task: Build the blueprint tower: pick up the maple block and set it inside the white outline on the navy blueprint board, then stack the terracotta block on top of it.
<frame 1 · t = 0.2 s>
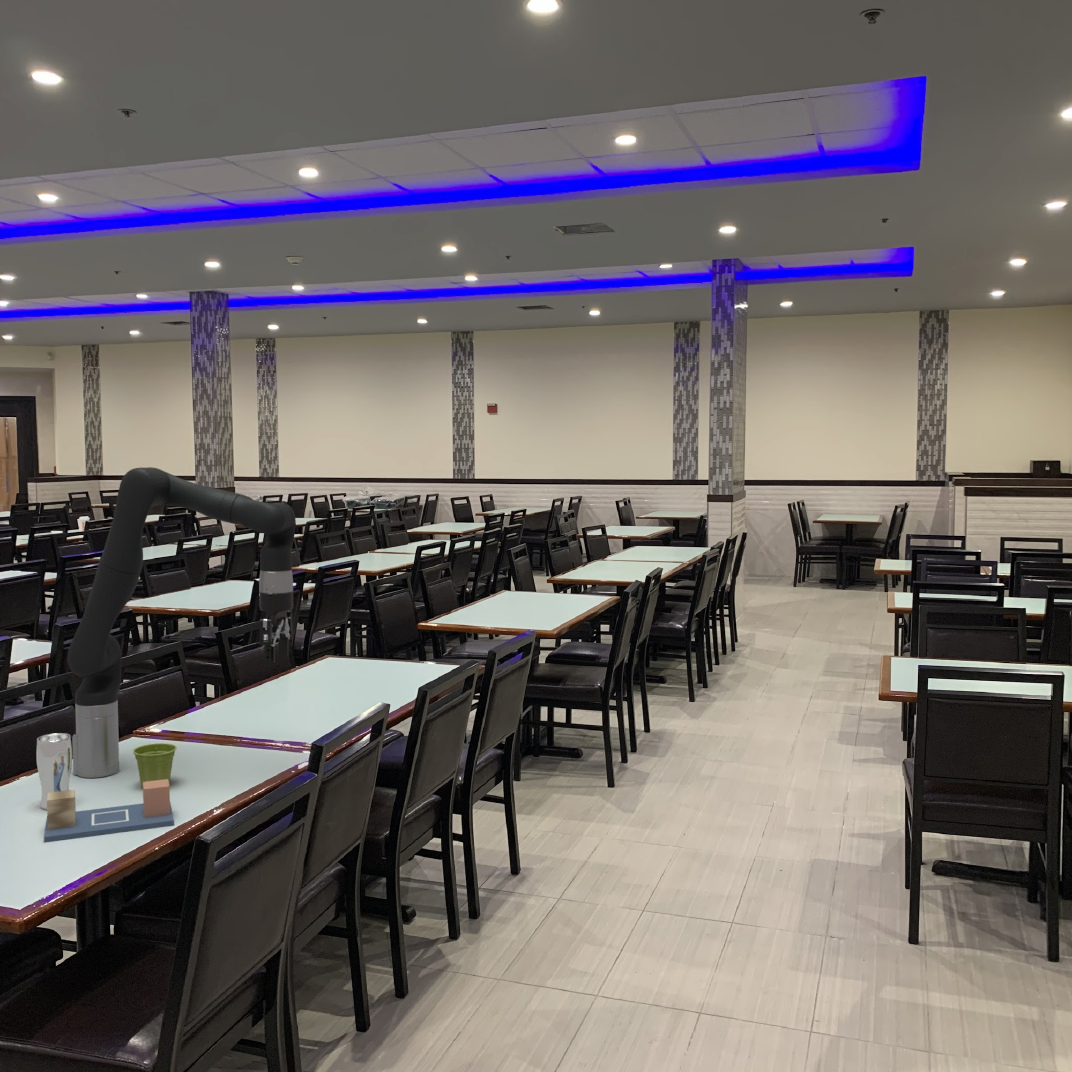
hand: (276, 658, 230), 29 cm above the table, fingers open, 8 cm apart
blueprint board: (110, 822, 206), on the table
beer glass: (55, 805, 215), on the table
plant pot: (155, 786, 229), on the table
terracotta block: (156, 811, 209), point 1 cm above the table, touching blueprint board
maple block: (62, 823, 202), point 1 cm above the table, touching blueprint board
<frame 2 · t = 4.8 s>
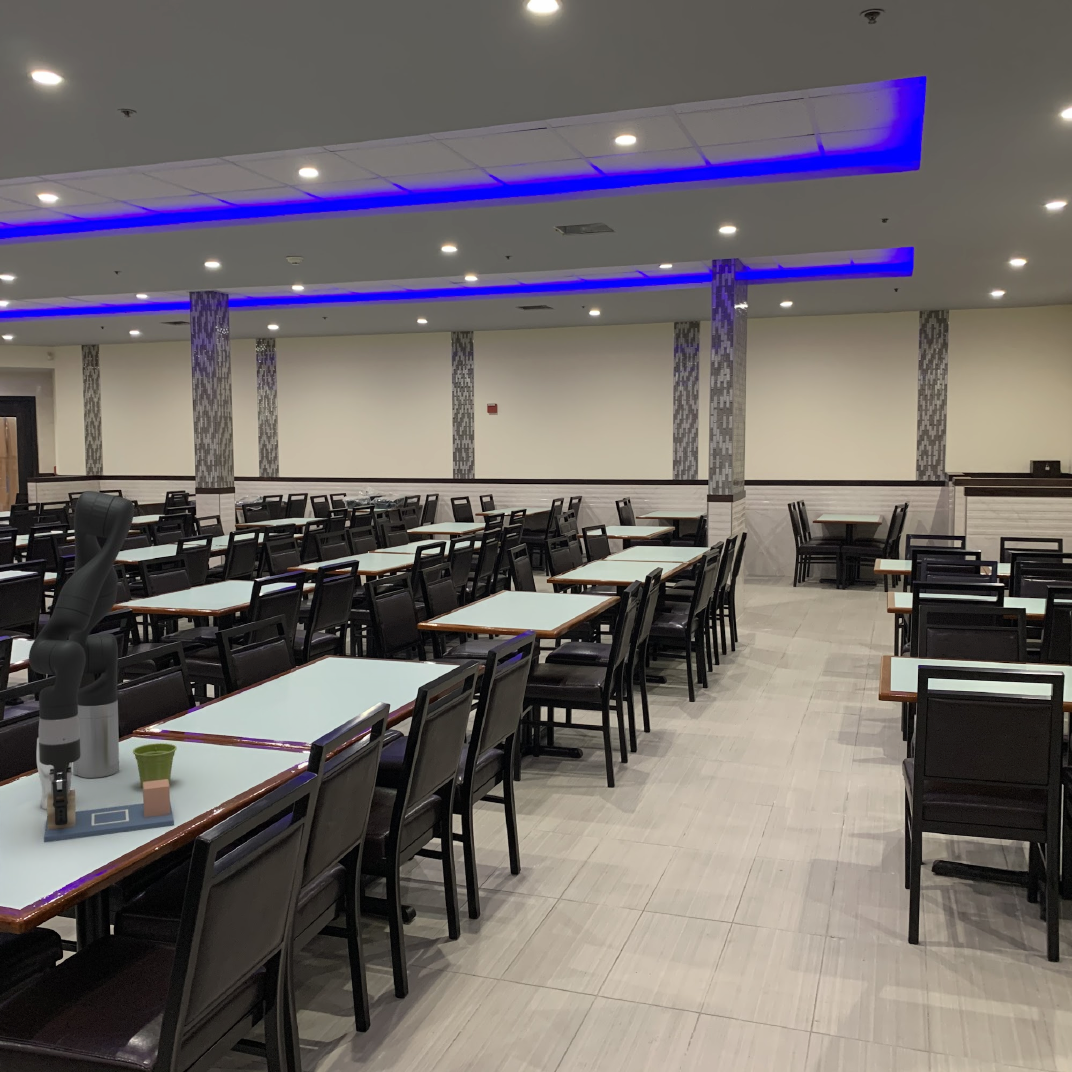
hand: (62, 819, 202), 2 cm above the table, fingers closed on maple block, 5 cm apart
maple block: (62, 823, 202), point 1 cm above the table, touching blueprint board, gripper
everything else where it was.
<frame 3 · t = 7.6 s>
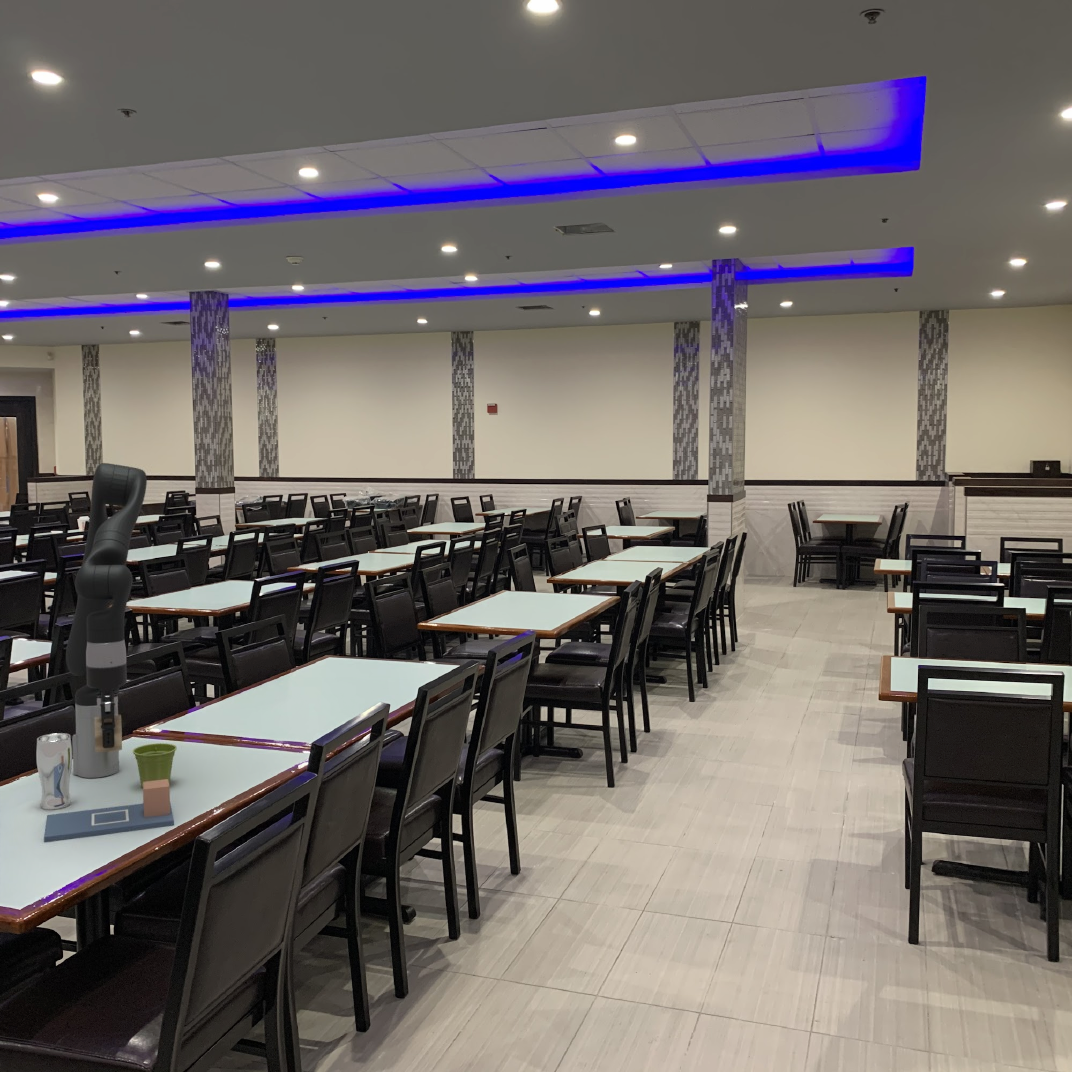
hand: (108, 743, 204), 17 cm above the table, fingers closed on maple block, 5 cm apart
maple block: (108, 747, 204), point 16 cm above the table, touching gripper
everything else where it was.
when the fingers open (3 cm above the table, at t = 10.4 s): maple block drops 1 cm, resting on blueprint board.
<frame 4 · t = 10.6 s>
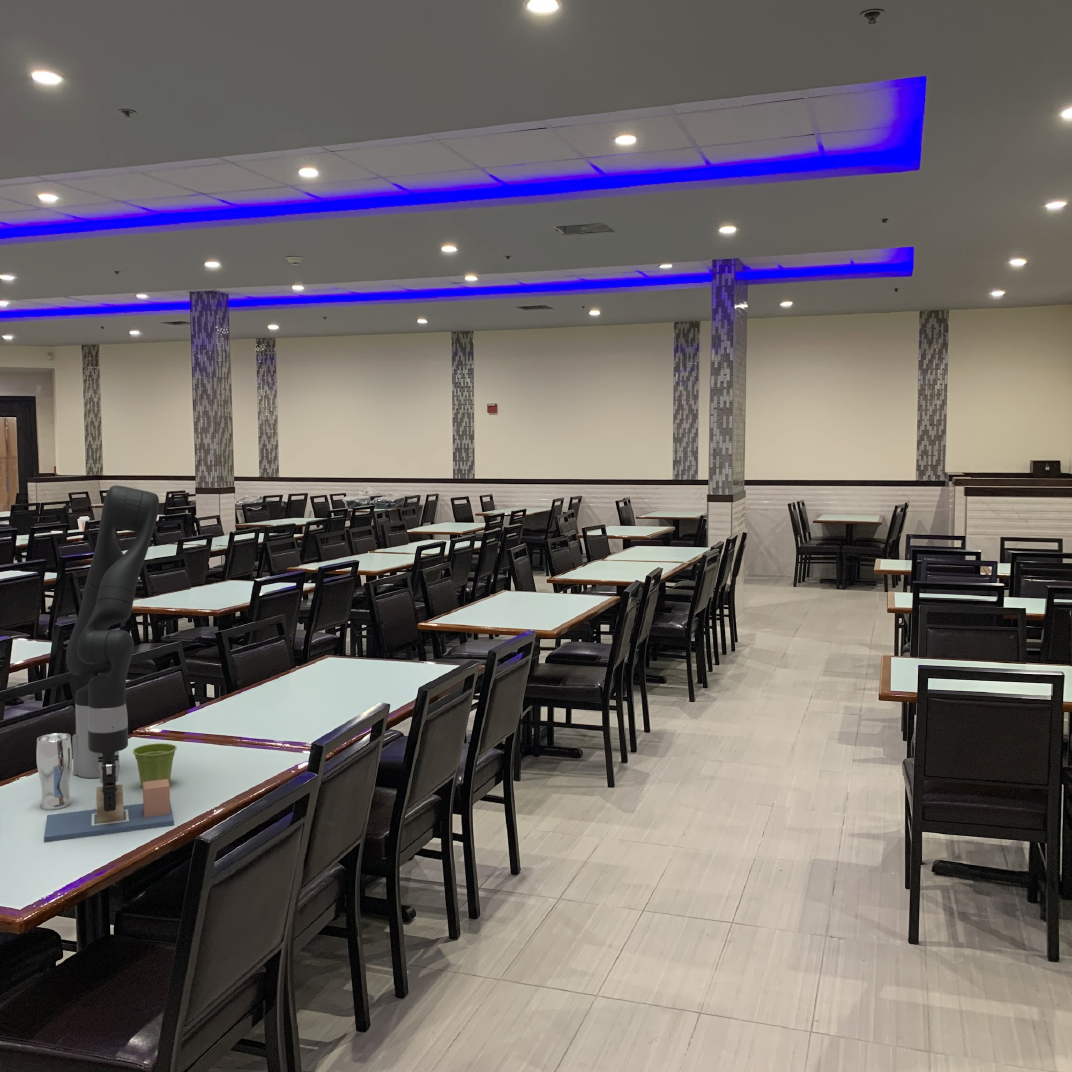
hand: (109, 804, 205), 4 cm above the table, fingers open, 7 cm apart
maple block: (110, 817, 205), point 1 cm above the table, touching blueprint board
everything else where it was.
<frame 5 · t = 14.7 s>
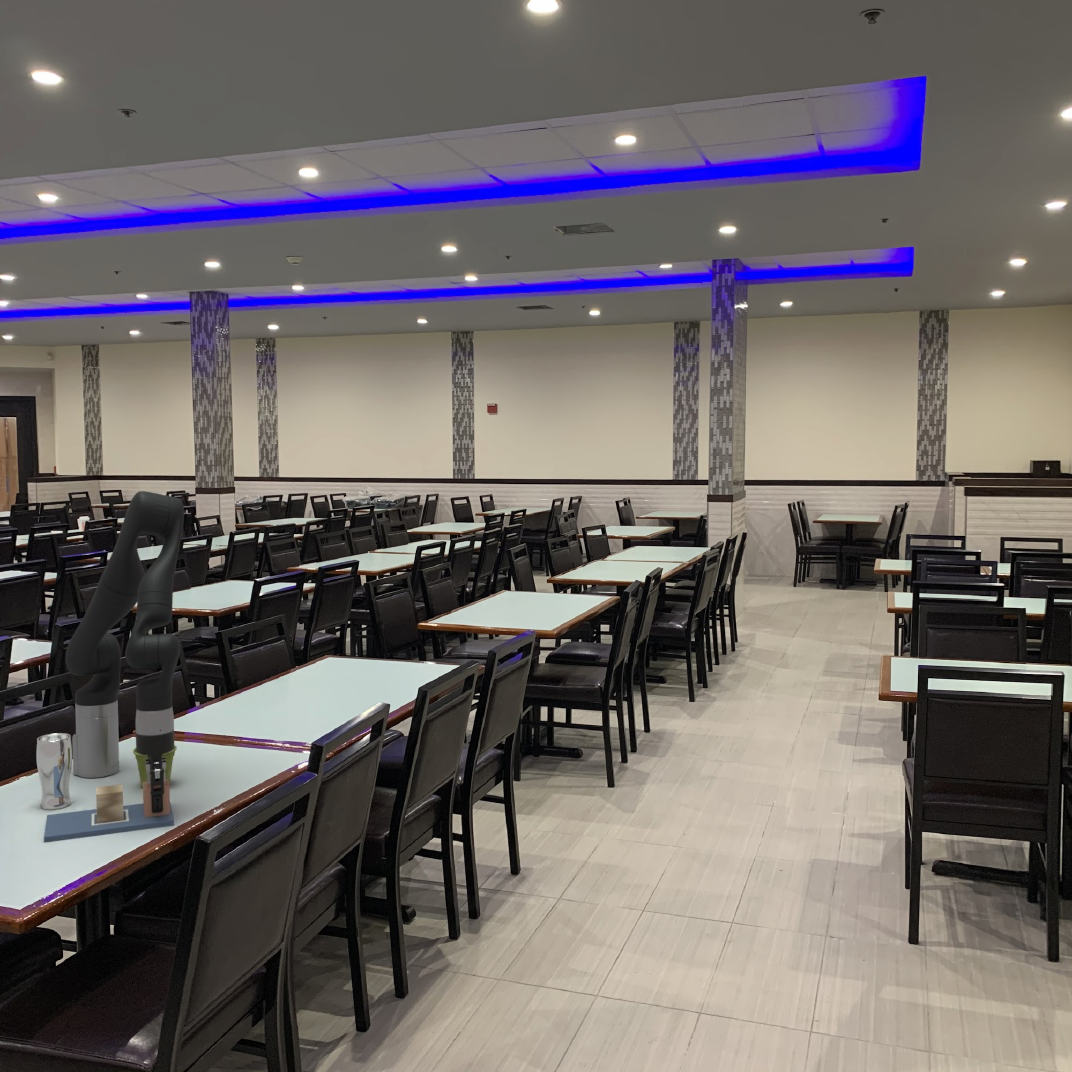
hand: (156, 807, 209), 2 cm above the table, fingers closed on terracotta block, 5 cm apart
terracotta block: (156, 811, 209), point 1 cm above the table, touching blueprint board, gripper
everything else where it was.
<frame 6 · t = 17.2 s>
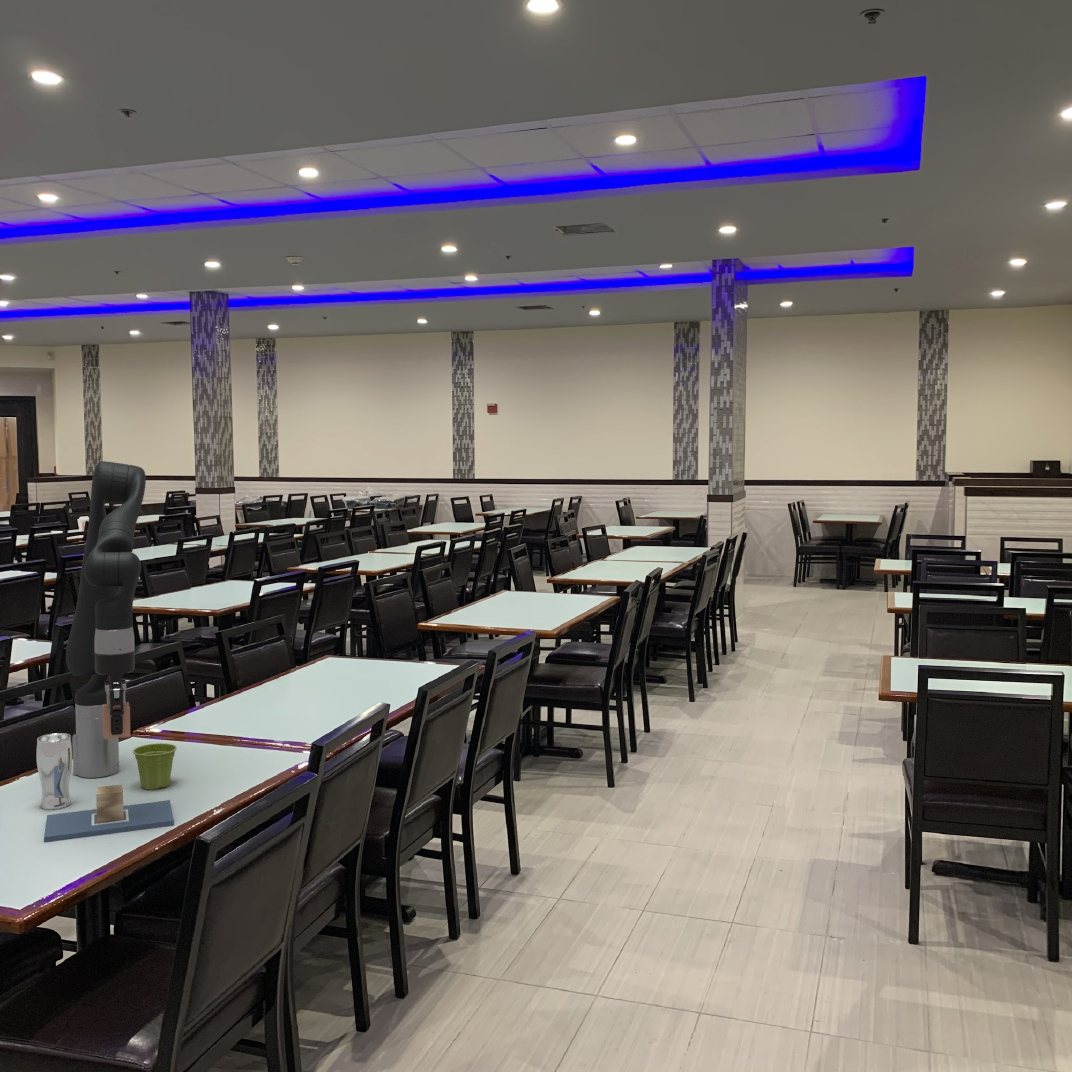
hand: (116, 730, 205), 19 cm above the table, fingers closed on terracotta block, 5 cm apart
terracotta block: (116, 734, 205), point 18 cm above the table, touching gripper
everything else where it was.
when the fingers open (9 cm above the table, at t = 20.2 s): terracotta block drops 1 cm, resting on maple block.
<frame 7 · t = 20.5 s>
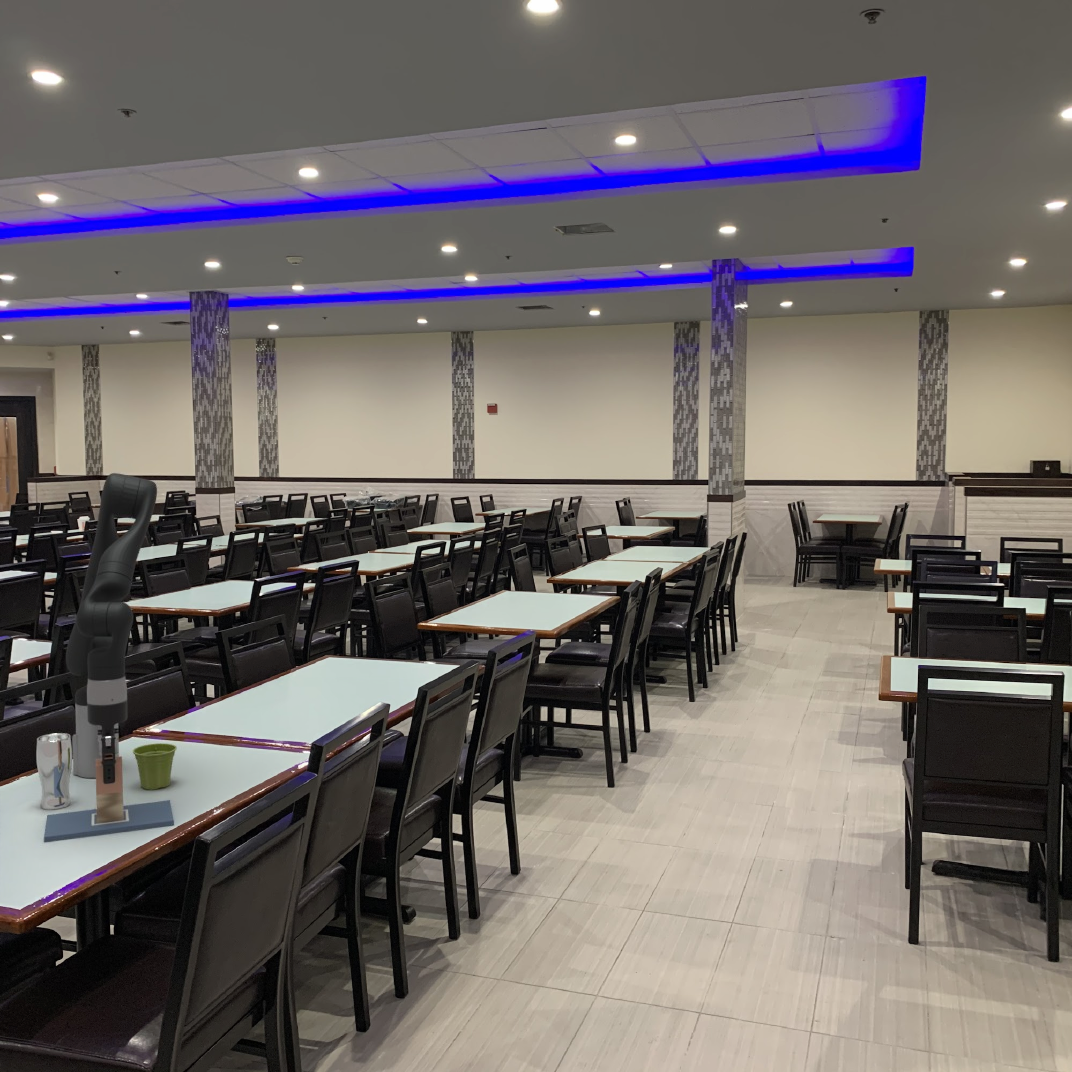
hand: (109, 777, 205), 10 cm above the table, fingers open, 7 cm apart
terracotta block: (109, 789, 205), point 7 cm above the table, touching maple block
maple block: (110, 817, 205), point 1 cm above the table, touching blueprint board, terracotta block
everything else where it was.
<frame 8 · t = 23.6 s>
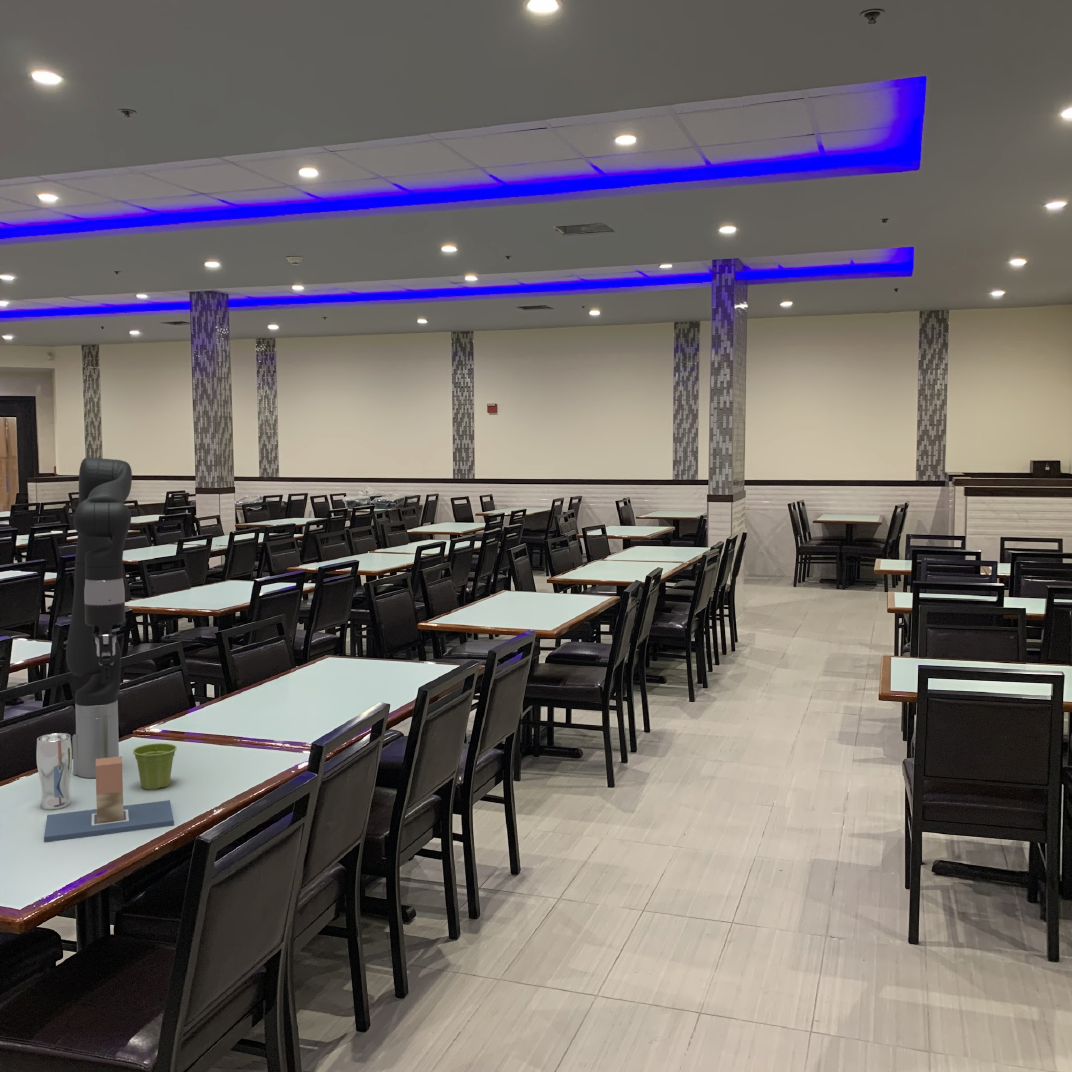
hand: (106, 679, 203), 30 cm above the table, fingers open, 8 cm apart
nothing on the table moved.
at the end: maple block 0.0 cm off-centre on the blueprint board, point 1.0 cm above the blueprint board's base; terracotta block 0.0 cm off-centre on the blueprint board, point 7.0 cm above the blueprint board's base; terracotta block tilted 0° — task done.
